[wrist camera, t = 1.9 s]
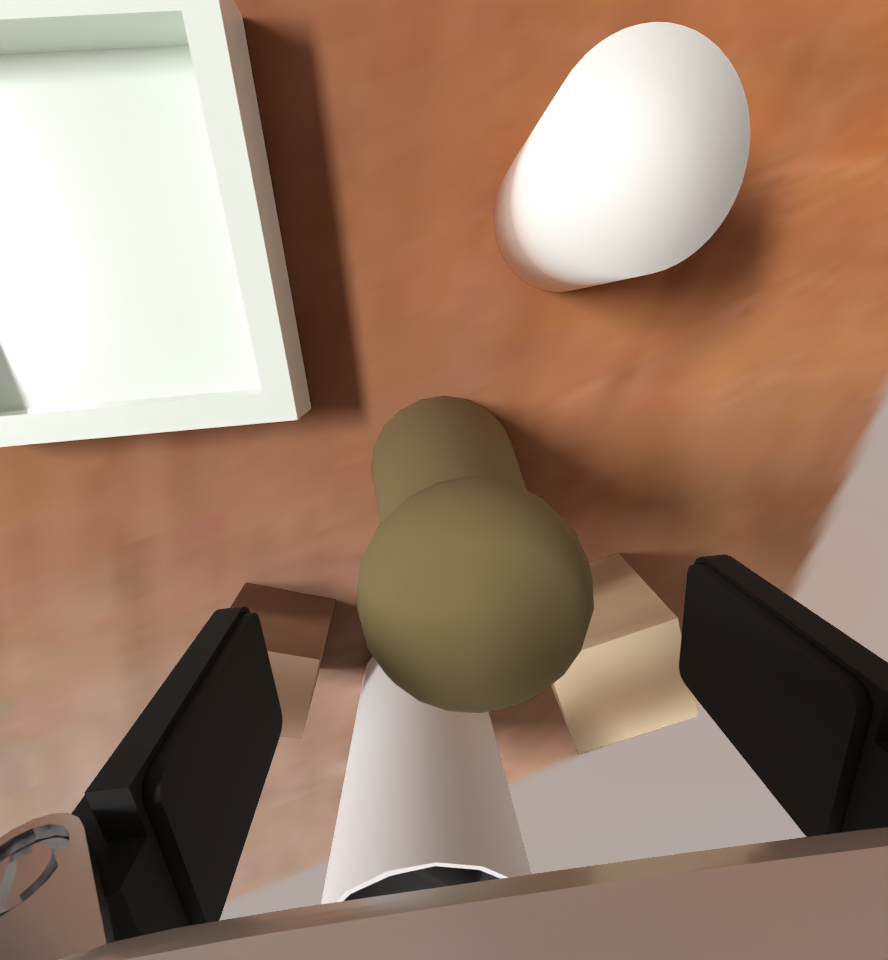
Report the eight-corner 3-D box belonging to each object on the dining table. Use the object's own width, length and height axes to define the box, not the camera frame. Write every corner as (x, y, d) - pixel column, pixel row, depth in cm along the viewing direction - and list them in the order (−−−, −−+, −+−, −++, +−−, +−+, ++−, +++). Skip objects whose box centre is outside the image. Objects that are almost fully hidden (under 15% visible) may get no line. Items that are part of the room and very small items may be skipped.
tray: (-174, 37, 13) (-291, -20, 11) (242, 16, 14) (210, -43, 11) (-6, 436, 17) (-67, 452, 15) (311, 408, 18) (297, 420, 15)
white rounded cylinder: (490, 138, 15) (539, 27, 10) (635, 129, 15) (766, 15, 10) (496, 297, 17) (541, 283, 11) (626, 286, 17) (734, 268, 11)
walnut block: (246, 581, 20) (208, 641, 16) (336, 598, 21) (319, 659, 17) (235, 653, 21) (197, 724, 17) (319, 667, 22) (301, 738, 18)
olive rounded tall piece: (535, 421, 18) (698, 544, 8) (486, 547, 20) (568, 782, 10) (394, 376, 17) (372, 451, 7) (355, 513, 19) (292, 733, 9)
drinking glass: (385, 606, 21) (367, 838, 11) (510, 650, 22) (585, 890, 13) (333, 710, 23) (280, 986, 13) (451, 745, 24) (480, 1018, 15)
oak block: (515, 587, 21) (546, 662, 16) (617, 551, 21) (677, 617, 16) (543, 665, 23) (578, 754, 18) (637, 634, 23) (697, 715, 18)
